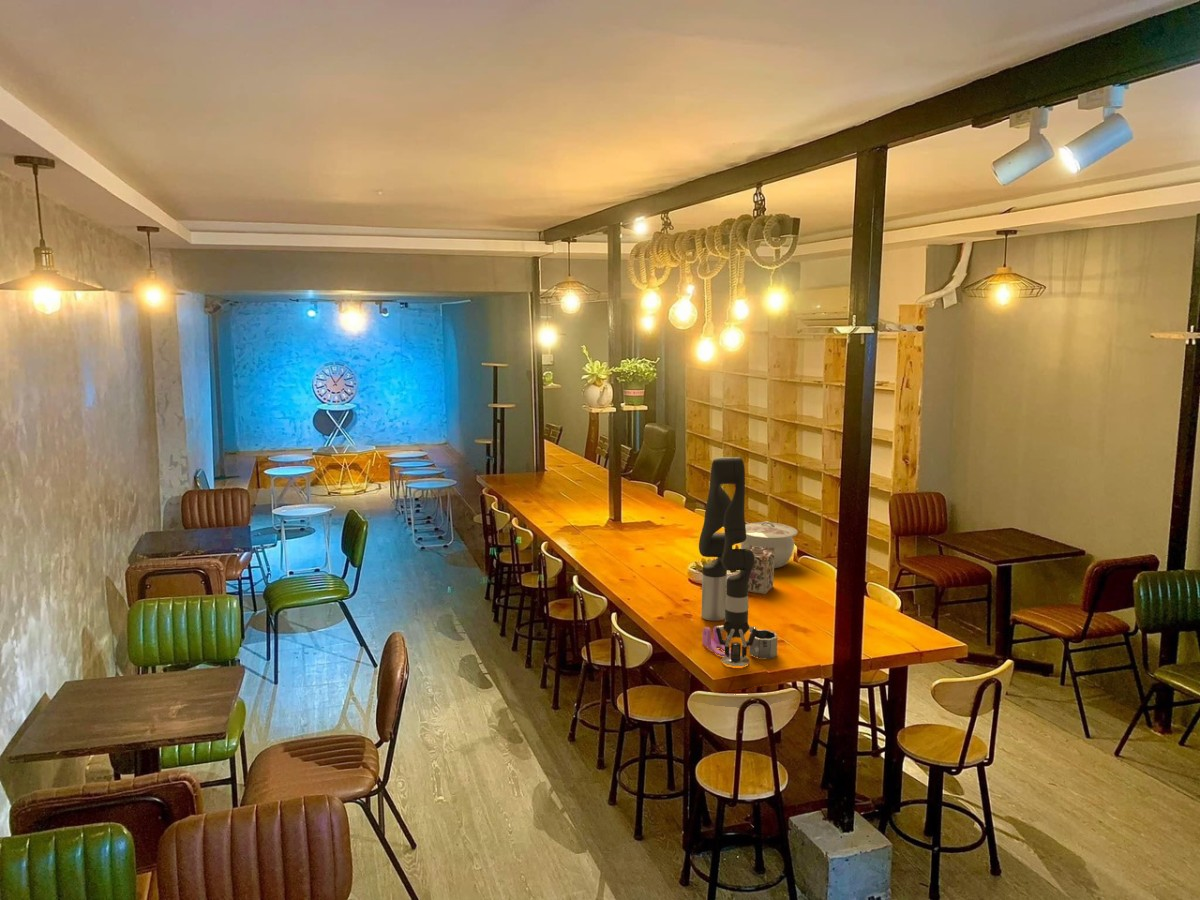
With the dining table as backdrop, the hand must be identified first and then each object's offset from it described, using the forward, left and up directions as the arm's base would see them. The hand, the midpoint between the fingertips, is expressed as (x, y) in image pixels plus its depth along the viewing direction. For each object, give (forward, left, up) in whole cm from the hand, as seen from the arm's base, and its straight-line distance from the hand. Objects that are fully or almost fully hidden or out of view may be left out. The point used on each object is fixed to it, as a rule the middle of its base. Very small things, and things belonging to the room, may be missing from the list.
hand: (735, 656), depth 277 cm
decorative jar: (-77, +15, -3) cm, 78 cm away
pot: (-8, +10, -2) cm, 13 cm away
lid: (0, 0, -3) cm, 3 cm away
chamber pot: (-112, +23, -3) cm, 114 cm away
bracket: (-10, -5, -3) cm, 11 cm away
